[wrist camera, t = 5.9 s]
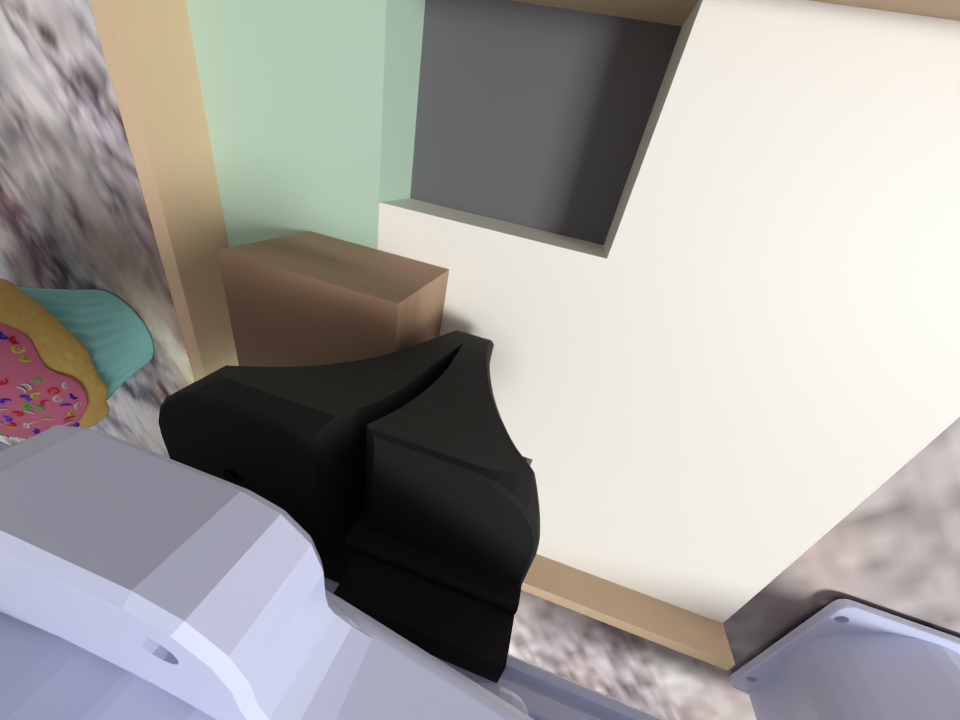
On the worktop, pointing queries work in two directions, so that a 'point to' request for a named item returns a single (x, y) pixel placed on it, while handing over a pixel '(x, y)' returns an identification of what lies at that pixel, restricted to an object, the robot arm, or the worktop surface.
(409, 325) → the walnut block
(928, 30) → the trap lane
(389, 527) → the robot arm
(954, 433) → the worktop surface
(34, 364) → the cupcake
